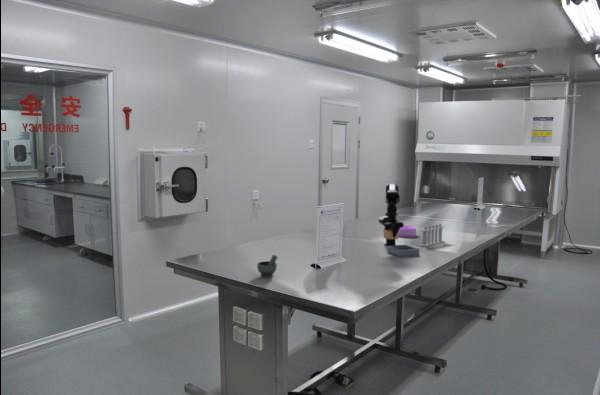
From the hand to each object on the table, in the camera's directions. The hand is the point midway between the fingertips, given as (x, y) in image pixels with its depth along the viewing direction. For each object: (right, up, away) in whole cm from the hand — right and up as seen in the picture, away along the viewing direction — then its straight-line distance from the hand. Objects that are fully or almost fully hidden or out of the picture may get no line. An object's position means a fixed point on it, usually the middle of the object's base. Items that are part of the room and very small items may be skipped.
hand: (391, 236), depth 288 cm
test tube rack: (+35, -8, +31) cm, 47 cm away
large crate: (+8, -11, 0) cm, 13 cm away
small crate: (0, -1, 0) cm, 1 cm away
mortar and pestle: (-73, -17, -53) cm, 92 cm away
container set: (+19, -5, +63) cm, 66 cm away
